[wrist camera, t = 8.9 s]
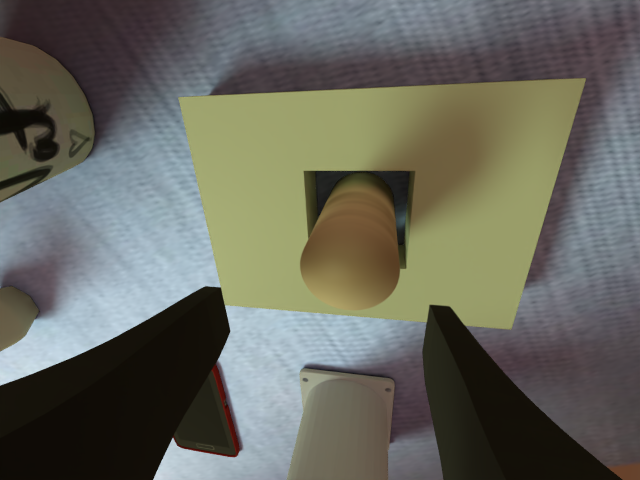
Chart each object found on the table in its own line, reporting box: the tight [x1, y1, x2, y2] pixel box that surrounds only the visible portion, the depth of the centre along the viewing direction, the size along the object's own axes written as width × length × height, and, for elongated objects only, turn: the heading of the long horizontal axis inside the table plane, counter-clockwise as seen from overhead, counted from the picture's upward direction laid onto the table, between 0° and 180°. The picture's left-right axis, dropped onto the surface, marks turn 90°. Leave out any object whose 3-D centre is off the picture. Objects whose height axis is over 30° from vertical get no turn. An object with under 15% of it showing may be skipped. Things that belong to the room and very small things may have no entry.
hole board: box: [178, 78, 586, 329], centre depth 18 cm, size 13×18×3 cm
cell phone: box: [173, 364, 240, 457], centre depth 33 cm, size 8×15×1 cm, turn 3°
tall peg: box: [300, 172, 400, 310], centre depth 16 cm, size 4×4×8 cm
